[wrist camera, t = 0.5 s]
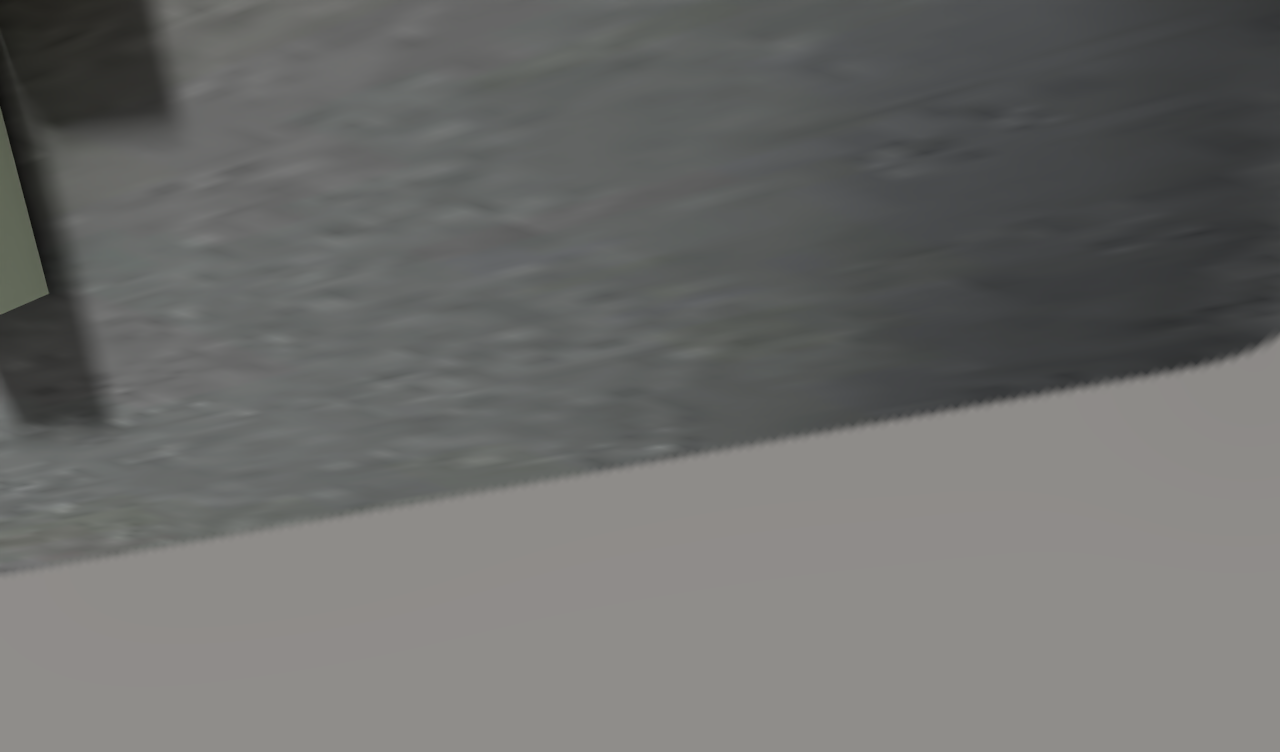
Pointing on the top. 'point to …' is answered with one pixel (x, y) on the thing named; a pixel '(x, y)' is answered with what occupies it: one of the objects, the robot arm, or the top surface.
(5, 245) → the hinged leg
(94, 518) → the top surface
